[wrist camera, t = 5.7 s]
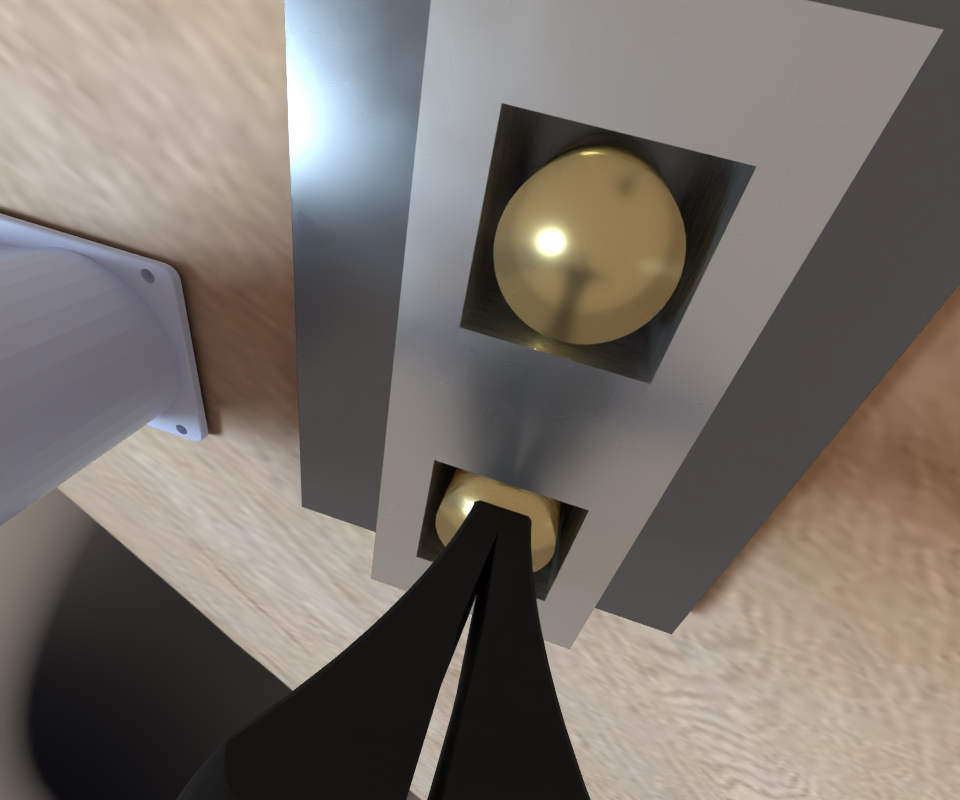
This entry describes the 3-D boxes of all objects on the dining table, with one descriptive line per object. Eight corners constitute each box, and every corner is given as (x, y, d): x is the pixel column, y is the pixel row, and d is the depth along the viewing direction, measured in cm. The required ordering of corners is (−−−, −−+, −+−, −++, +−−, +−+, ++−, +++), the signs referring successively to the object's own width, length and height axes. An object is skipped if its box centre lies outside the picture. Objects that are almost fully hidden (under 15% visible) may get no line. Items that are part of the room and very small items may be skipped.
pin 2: (520, 250, 12) (477, 317, 9) (553, 117, 10) (517, 131, 7) (634, 282, 12) (640, 364, 8) (688, 151, 10) (724, 183, 7)
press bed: (316, 487, 21) (302, 506, 20) (310, -343, 9) (270, -398, 8) (669, 607, 20) (671, 634, 19) (1278, -185, 7) (1380, -228, 6)
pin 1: (471, 451, 16) (428, 553, 13) (488, 379, 14) (445, 473, 11) (556, 478, 16) (536, 590, 12) (584, 408, 14) (571, 514, 11)
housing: (423, 477, 18) (371, 578, 14) (509, -14, 10) (438, -79, 6) (580, 529, 17) (569, 649, 13) (812, 55, 9) (943, 29, 5)
